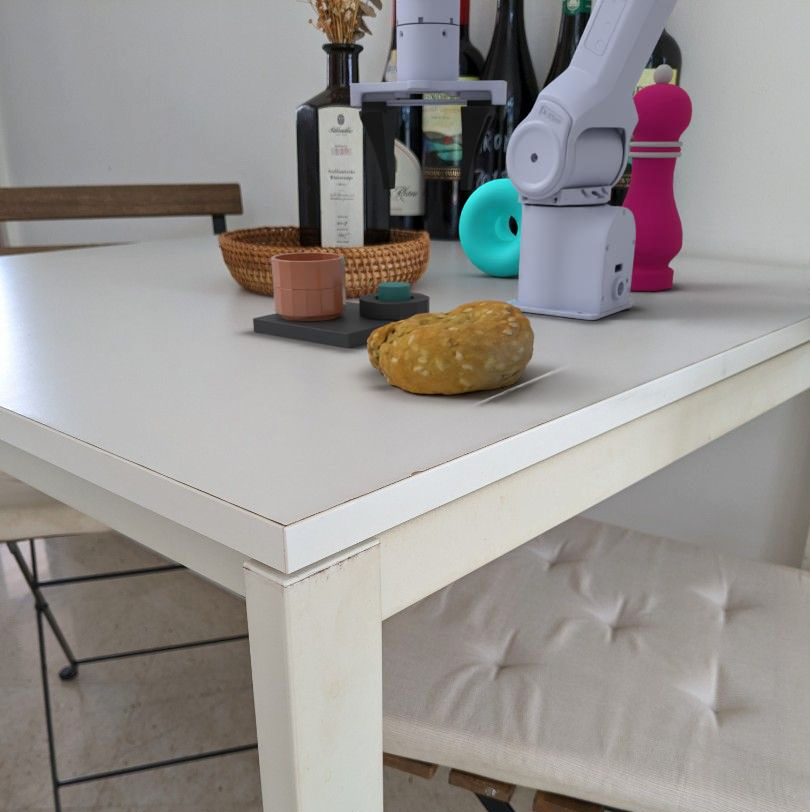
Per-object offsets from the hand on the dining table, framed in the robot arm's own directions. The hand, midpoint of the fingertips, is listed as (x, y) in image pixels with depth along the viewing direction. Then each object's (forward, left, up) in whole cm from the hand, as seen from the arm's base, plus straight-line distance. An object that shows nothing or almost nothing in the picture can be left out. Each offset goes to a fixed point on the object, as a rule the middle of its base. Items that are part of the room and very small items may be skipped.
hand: (427, 189), depth 83 cm
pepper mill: (-17, -14, -10) cm, 24 cm away
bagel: (-22, +28, -10) cm, 37 cm away
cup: (-4, +22, -8) cm, 24 cm away
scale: (-6, +21, -9) cm, 23 cm away
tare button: (-10, +17, -7) cm, 21 cm away
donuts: (-1, -15, -10) cm, 18 cm away
